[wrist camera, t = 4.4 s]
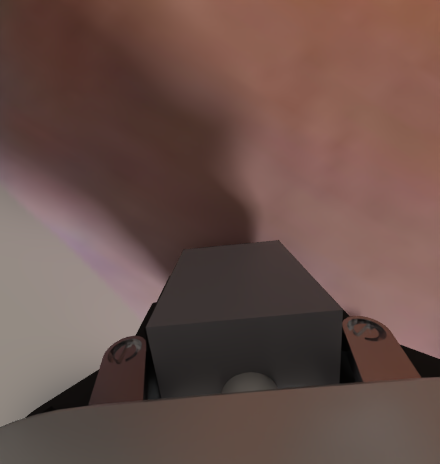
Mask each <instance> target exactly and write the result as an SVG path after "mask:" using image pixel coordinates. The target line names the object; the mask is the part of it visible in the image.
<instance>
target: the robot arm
mask: <svg viewBox="0 0 440 464" xmlns="http://www.w3.org/2000/svg"><path fill="white" fill-rule="evenodd" d="M169 278H170V277H169ZM169 278H168V280H167V282H166V284H165V286H164V288H163V291H164V289H165V287H166V285H167V283H168V281H169ZM323 289H324V288H323ZM324 290H325V289H324ZM163 291H162V293H163ZM325 291H326V290H325ZM162 293H161V295H162ZM161 295H160V297H161ZM160 297H159V299H160ZM159 299H158V301H159ZM158 301H157V302H155V303H153V304H152V305H151V307H150V309H149V311H148V313H147V315H146V316H145V318H144V320H143V322H142V324H141V326H140V328H139V330H138V332H137V334H136V336H130V337H126V338H123V339H121V340H119V341H117V342H116V343H114V344H113V345H112V346H110V347H109V348H108V350H107V351H106V352H105V354H104V356H103V359H102V362H101V365H100V369H99V370H98V371H96V372H94V373H93V374H91V375H89V376H88V377H86V378H85V379H83V380H81V381H80V382H78V383H77V384H75V385H73V386H72V387H70V388H69V389H67V390H65V391H64V392H62V393H61V394H59V395H58V396H56V397H54V398H53V399H52V400H50V401H48V402H47V403H45V404H43V405H42V406H40V407H39V408H37V409H36V410H34V411H33V412H31V413H30V414H29V415H28V416H27V417H25V418H23V419H20V420H17V421H14V422H11V423H9V424H6V425H4V426H2V427H0V464H440V359H438V358H435V357H432V356H430V355H427V354H424V353H421V352H419V351H416V350H413V349H411V348H408V347H405V346H402V345H400V344H399V343H398V342H397V340H396V339H395V337H394V336H393V334H392V333H391V331H390V330H389V329H388V328H387V327H386V326H385V325H383V324H382V323H380V322H378V321H376V320H374V319H371V318H368V317H363V316H351V317H350V316H349V315H348V314H347V313H346V312H345V311H344V310H343V321H342V341H341V362H340V382H339V384H330V385H317V386H304V387H291V388H279V389H267V390H255V391H243V392H231V393H219V394H207V395H196V396H185V397H174V398H163V399H161V395H160V390H159V386H158V381H157V377H156V372H155V367H154V363H153V358H152V354H151V349H150V345H149V340H148V336H147V331H146V326H147V324H148V322H149V320H150V317H151V315H152V313H153V311H154V309H155V307H156V305H157V303H158ZM335 302H336V301H335ZM336 303H337V302H336ZM337 304H338V303H337Z"/></svg>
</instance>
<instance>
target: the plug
mask: <svg viewBox="0 0 440 464" xmlns="http://www.w3.org/2000/svg"><path fill="white" fill-rule="evenodd" d="M342 321H343V309H342V308H341V307H340V306H339V305H338V304H337V303H336V302H335V300H334V299H333V298H332V297H331V296H330V295H329V294H328V293H327V292H326V291H325V290H324V289H323V288H322V286H321V285H320V284H319V283H318V282H317V281H316V280H315V279H314V278H313V277H312V276H311V275H310V274H309V272H308V271H307V270H306V269H305V268H304V267H303V266H302V265H301V264H300V263H299V262H298V261H297V259H296V258H295V257H294V256H293V255H292V254H291V253H290V252H289V251H288V250H287V249H286V248H285V247H284V245H283V244H282V243H281V242H280V241H279V240H276V241H266V242H256V243H245V244H235V245H225V246H215V247H205V248H194V249H184V250H183V252H182V254H181V256H180V258H179V260H178V262H177V264H176V266H175V268H174V270H173V272H172V274H171V276H170V278H169V281H168V283H167V285H166V287H165V289H164V291H163V293H162V295H161V297H160V299H159V301H158V303H157V305H156V307H155V309H154V311H153V313H152V315H151V317H150V320H149V322H148V324H147V326H146V331H147V336H148V340H149V345H150V349H151V354H152V358H153V363H154V367H155V372H156V377H157V381H158V386H159V390H160V395H161V399H163V398H174V397H185V396H196V395H207V394H219V393H231V392H243V391H255V390H267V389H279V388H291V387H304V386H317V385H330V384H339V382H340V362H341V341H342Z"/></svg>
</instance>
